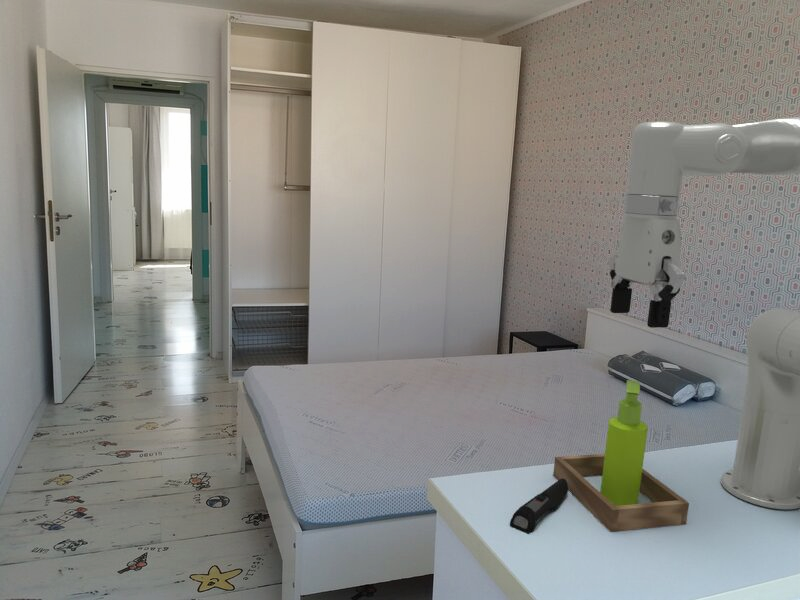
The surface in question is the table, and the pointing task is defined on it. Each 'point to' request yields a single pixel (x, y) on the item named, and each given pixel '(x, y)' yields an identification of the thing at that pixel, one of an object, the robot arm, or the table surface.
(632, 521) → the frame
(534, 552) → the table surface
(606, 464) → the soap dispenser
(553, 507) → the electric trimmer
